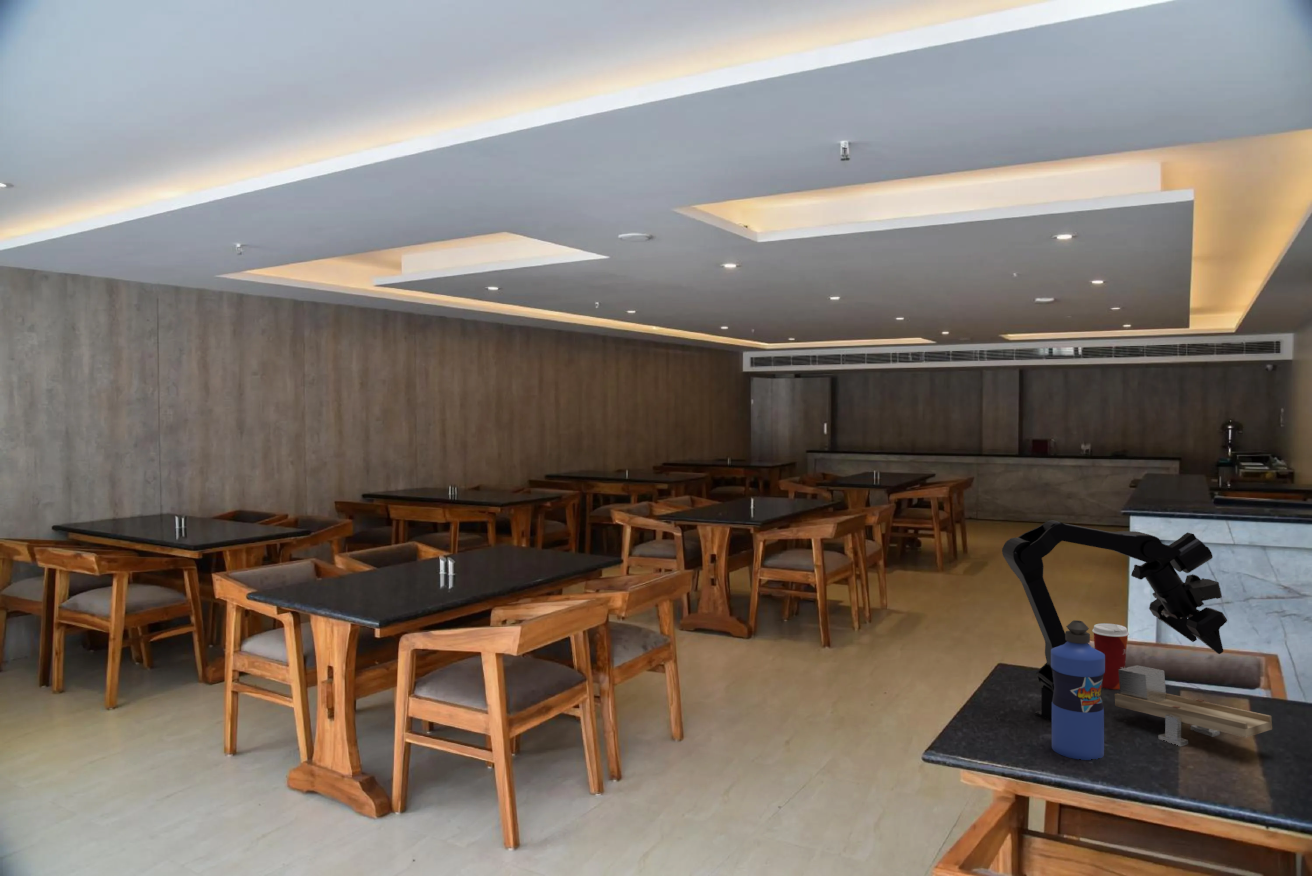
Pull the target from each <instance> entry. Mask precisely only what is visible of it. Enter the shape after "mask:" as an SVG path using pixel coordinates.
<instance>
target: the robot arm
mask: <svg viewBox="0 0 1312 876" xmlns="http://www.w3.org/2000/svg"><path fill="white" fill-rule="evenodd" d="M1061 542H1066V543H1073V544H1078V545H1082V546H1089V547H1093V548H1099V549H1103V550H1104V549H1105V550H1109V551H1114V552H1116V553H1119V554H1121V555H1124V556H1127V557H1129V558H1132V559H1135V560H1138V561H1140V562H1141V561H1142V562H1144V563H1142V564H1141V565H1139V564H1134V565H1133V569H1132V572H1131V575H1130V576H1131V577H1133V578H1135V579H1138V580H1143V579H1145V580H1146V582H1148V584H1149V586H1150V587H1151V589H1152V590H1153V593H1152V596H1153V598H1154V600H1153V601H1151V602H1150V603H1149V608H1148V609H1149V610H1150V612H1151V614H1152V615H1153V616H1154V617H1156V618H1157V619H1158V620H1159V621H1161V622H1163V623H1164V624H1165V625H1167V626H1169V627H1170V628H1172V629H1173V630H1174V631H1176V632H1177V633H1179V634H1180V635H1181V636H1183V637H1185V638H1186V639H1187V640H1189V641H1190V642H1192V643H1194V642H1196V641H1198V640H1200V642H1202V643H1204V645H1206V646H1207V647H1208V648H1210V649H1211V650H1212V651H1213V652H1215V653H1216V654H1218V655H1220V654H1222V653H1224V647H1223V643H1222V638H1221V633H1220V629H1221V627H1222V626H1224V625H1225V624H1226V623H1227V622H1228V619H1227V617H1226V616H1225V614H1224V613H1223V611H1220V610H1217V609H1215V608H1212V607H1204V608H1203V609H1201V610H1199V609H1198V608H1201V607H1202V606H1204V605H1205V603H1204V602H1205V601H1209V600H1213V599H1217V600H1218V599H1222V591H1221V587H1220V583H1219V582H1218V581H1216V580H1212V579H1209V578H1204V577H1203V578H1200V577H1199V576H1198V575H1196V574H1194V573H1192V574H1190V573H1191V572H1193V571H1194V570H1196V569H1198V568H1199V567H1201V566H1202V565H1204V564H1206V563H1207V562H1209V561H1211V560H1212V559H1213V557H1214V556H1213V553H1212V551H1211V549H1210V548H1209V547H1208V546H1206V544H1205V543H1203V542H1202V541H1201V540H1200V539H1199V538H1197V536H1196V535H1195V534H1194V533H1192V532H1186V533H1184V534H1183V535H1182V536H1181V537H1180V538H1178V539H1176V540H1174V541H1173V542H1172V543H1170V544H1169V545H1168V544H1165V543H1162V541H1161V540H1160V538H1159V537H1157V536H1155V535H1153V534H1152V535H1151V534H1148V533H1145V532H1140V531H1136V530H1134V531H1132V530H1125V531H1124V530H1121V531H1120V530H1119V531H1109V530H1102V529H1096V528H1091V527H1086V526H1085V527H1084V526H1080V525H1074V524H1071V523H1070V524H1069V523H1064V522H1060V521H1057V520H1055V519H1054V520H1053V519H1050V520H1047V521H1045V522H1044V523H1042V524H1041V525H1040V526H1038V527H1036V528H1032V529H1030V530H1028V531H1026V532H1024V533H1022V534H1021V535H1020V536H1018V537H1012V538H1009V539H1008V540H1006V541H1005V543H1004V544H1003V547H1002V548H1001V553H1002V557H1003V558H1004V560H1005V561H1006V563H1007V565H1008V566H1009V568H1010V569H1011V570H1012V572H1013V574H1015V576H1016V577H1017V579H1019V581H1020V583H1021V585H1022V587H1023V589H1024V592H1025V596H1026V597H1027V600H1028V602H1029V605H1030V607H1031V610H1032V613H1033V614H1034V615H1033V616H1034V617H1035V620H1036V623H1037V625H1038V627H1039V629H1040V632H1041V635H1042V637H1043V640H1044V656H1045V661H1046V662H1045V663H1044V665H1042V666H1041V667H1040V668H1039V669H1038V670H1037V671H1036V672H1035V674H1036V678H1037V681H1038V682H1039V683H1040V684H1042V685H1043V686H1042V687H1041V689H1040V691H1041V692H1040V694H1041V695H1040V696H1041V697H1040V699H1041V701H1040V702H1041V703H1040V704H1041V707H1040V708H1041V709H1040V710H1036V711H1034V713H1035V715H1037V716H1040V717H1042V718H1045V719H1047V720H1050V721H1052V699H1053V693H1054V681H1053V673H1052V668H1051V649H1052V648H1055V647H1058V646H1060V645H1063V644H1065V643H1066V642H1067V641H1066V640H1065V632H1066V631H1065V629H1064V627H1063V624H1062V623H1061V620H1060V617H1059V614H1058V612H1057V609H1056V607H1055V605H1054V601H1053V599H1052V597H1051V593H1050V592H1049V590H1048V589H1049V588H1048V587H1047V585H1046V581H1045V579H1044V566H1045V565H1044V562H1043V558H1044V557H1045V556H1047V555H1048V554H1050V553H1051V552H1052V550H1054V549H1055V547H1057V545H1058V544H1060V543H1061ZM1181 572H1184V573H1185V574H1188V575H1186V577H1185V582H1183V580H1182V579H1181V577H1180V575H1179V574H1178V573H1181ZM1197 639H1198V640H1197Z"/></svg>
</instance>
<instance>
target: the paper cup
mask: <svg viewBox="0 0 1312 876" xmlns="http://www.w3.org/2000/svg"><path fill="white" fill-rule="evenodd" d="M1091 631H1092V632H1093V641H1094V643H1093V644H1094V647H1093V648H1094V649H1096V650H1098V651H1100V652H1102V653H1104V655H1105V673H1104V676H1103V684H1102V689H1107V690H1120V684H1119V669H1123V668H1126V663H1127V662H1126V661H1127V649H1128V636H1129V635H1130V633H1129V631H1128V628H1127V627H1126V626H1124V625H1121V624H1117V623H1115V624H1114V623H1106V622H1105V623H1097V624H1094V625H1093V628H1092V630H1091Z"/></svg>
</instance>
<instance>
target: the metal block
mask: <svg viewBox="0 0 1312 876" xmlns="http://www.w3.org/2000/svg"><path fill="white" fill-rule="evenodd" d="M1165 678H1166V677H1165V670H1163V669H1159V668H1152V667H1148V666H1144V665H1143V666H1142V665H1136V664H1135V665H1131V666H1128V667H1125V668H1123V669H1119V684H1120V689H1119V694H1122V695H1127V696H1131V697H1135V698H1140V699H1144V700H1149V701H1153V702H1159V701H1163V700H1166V693H1167V691H1166V679H1165Z"/></svg>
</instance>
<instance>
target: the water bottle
mask: <svg viewBox="0 0 1312 876" xmlns="http://www.w3.org/2000/svg"><path fill="white" fill-rule="evenodd" d="M1066 629H1068V630H1066V631H1064V632H1065V640H1066V641H1067V642H1066V643H1065V644H1063V645H1060V646H1058V647H1055V648H1052V649H1051V668H1052V673H1053V681H1054V693H1053V699H1052V720H1051V749H1052V750H1053V751H1054V753H1057V754H1058V755H1061V756H1063V757H1066V758H1069V759H1073V760H1079V759H1081V761H1092V760H1091V759H1096V760H1099V759H1098V758H1100V759H1101V758H1104V755H1105V709H1104V707H1105V706H1104V702H1103V695H1102V691H1103V688H1102V684H1103V676H1104V673H1105V655H1104V653H1102V652H1100V651H1098V650H1096V649H1095V647H1092V646H1091V645H1090V643H1091V634H1090V632H1087V631H1089V629H1090V627H1088V625H1087V624H1085V623H1084V621H1082V620H1078V619H1077V620H1075V619H1074V620H1072V621H1071V622H1069V623H1068V624H1067V625H1066Z"/></svg>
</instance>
